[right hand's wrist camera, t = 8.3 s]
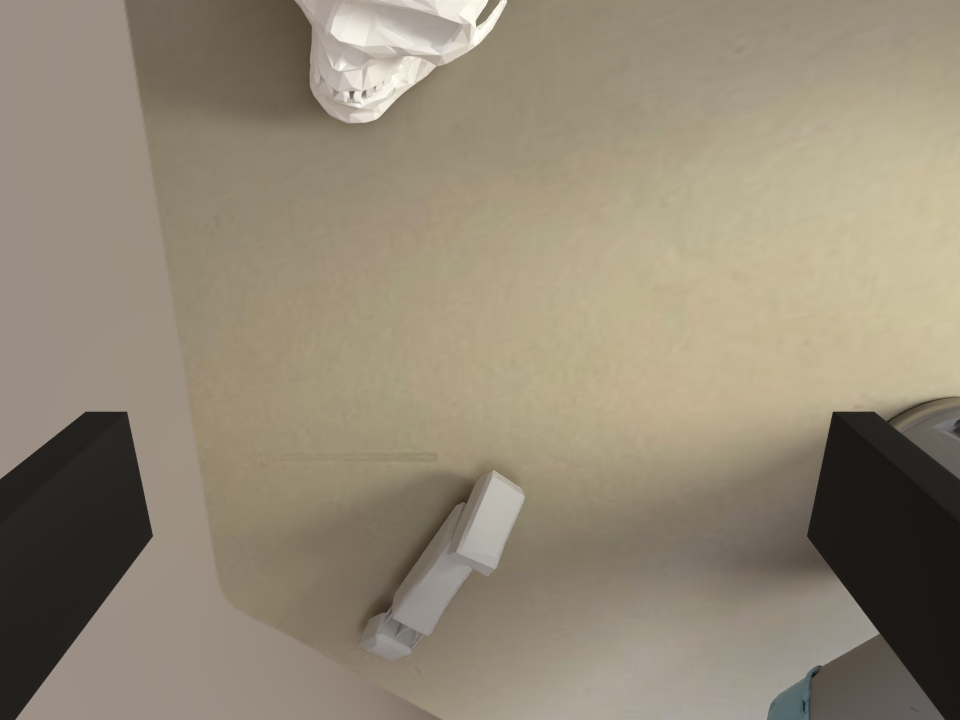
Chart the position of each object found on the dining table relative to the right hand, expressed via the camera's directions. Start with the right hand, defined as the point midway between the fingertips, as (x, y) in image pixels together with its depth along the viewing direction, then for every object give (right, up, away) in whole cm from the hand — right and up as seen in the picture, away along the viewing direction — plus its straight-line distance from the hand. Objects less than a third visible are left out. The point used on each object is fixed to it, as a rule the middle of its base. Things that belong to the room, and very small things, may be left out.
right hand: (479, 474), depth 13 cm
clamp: (-3, -14, +43) cm, 46 cm away
